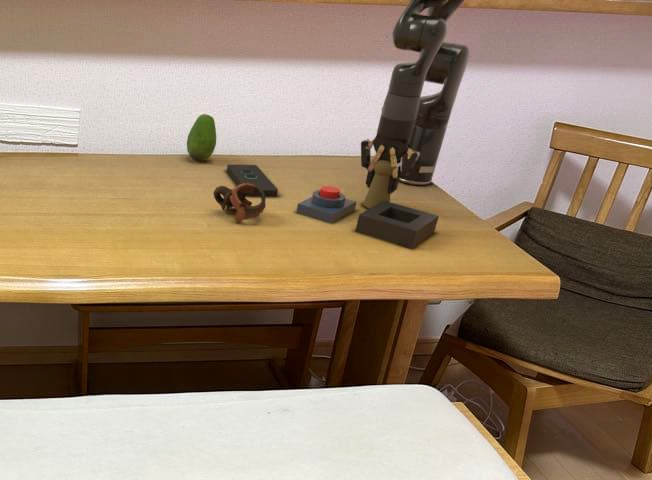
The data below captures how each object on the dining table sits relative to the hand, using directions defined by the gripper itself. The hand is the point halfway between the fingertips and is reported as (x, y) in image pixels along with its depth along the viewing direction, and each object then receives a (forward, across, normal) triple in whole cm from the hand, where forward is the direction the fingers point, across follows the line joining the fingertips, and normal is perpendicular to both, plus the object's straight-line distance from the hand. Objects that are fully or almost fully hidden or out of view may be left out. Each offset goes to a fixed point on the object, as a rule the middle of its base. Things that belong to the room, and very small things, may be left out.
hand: (380, 189), depth 177 cm
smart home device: (+4, +30, +8) cm, 31 cm away
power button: (+1, +7, +12) cm, 14 cm away
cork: (+4, 0, 0) cm, 4 cm away
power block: (+4, +7, +12) cm, 15 cm away
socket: (+4, -10, +12) cm, 16 cm away
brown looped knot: (+4, +20, +30) cm, 36 cm away
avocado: (+5, +50, +2) cm, 50 cm away
